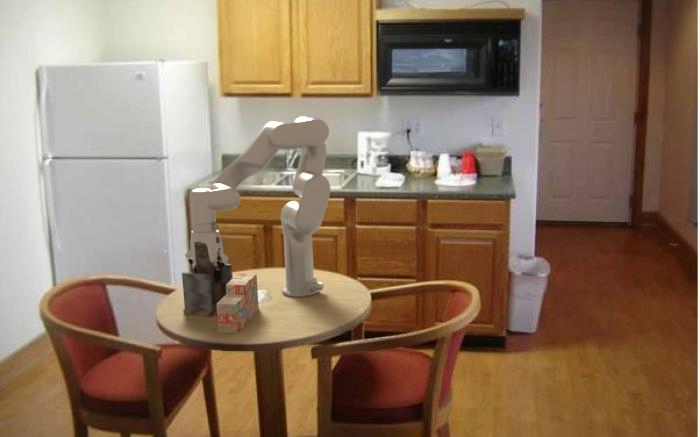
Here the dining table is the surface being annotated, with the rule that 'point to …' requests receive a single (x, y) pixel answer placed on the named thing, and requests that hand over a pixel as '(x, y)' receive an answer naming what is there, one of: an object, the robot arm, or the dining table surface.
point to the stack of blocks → (238, 303)
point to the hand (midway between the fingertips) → (208, 279)
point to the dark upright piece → (207, 268)
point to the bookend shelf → (202, 292)
